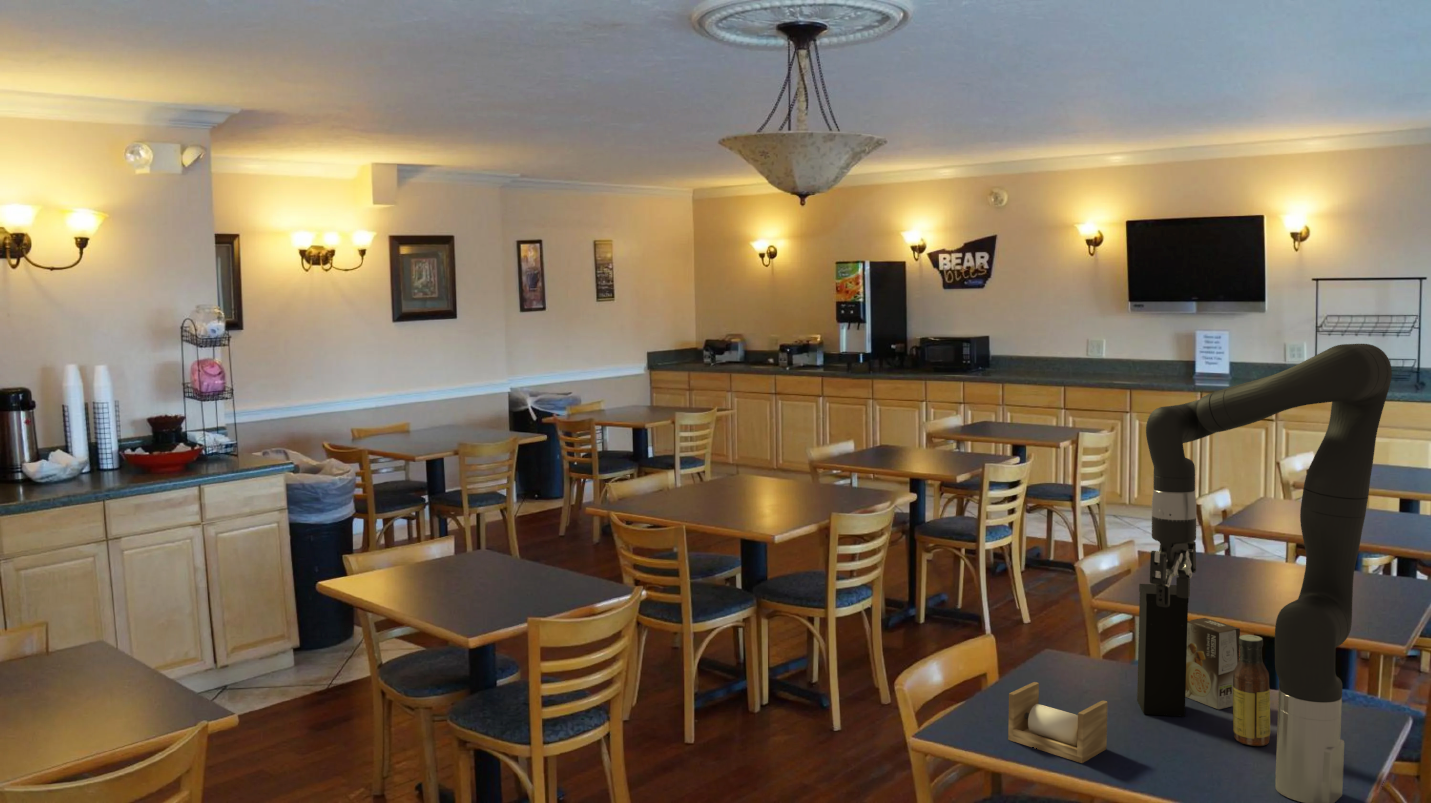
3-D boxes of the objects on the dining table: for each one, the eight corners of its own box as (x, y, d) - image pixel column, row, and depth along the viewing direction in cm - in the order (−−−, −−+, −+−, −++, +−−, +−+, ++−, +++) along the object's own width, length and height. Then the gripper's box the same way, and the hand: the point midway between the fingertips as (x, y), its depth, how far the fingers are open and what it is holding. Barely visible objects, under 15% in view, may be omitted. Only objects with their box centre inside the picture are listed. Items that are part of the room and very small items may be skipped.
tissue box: (1185, 717, 216) (1189, 578, 214) (1143, 714, 218) (1146, 577, 215) (1176, 703, 224) (1180, 569, 222) (1136, 700, 226) (1139, 567, 223)
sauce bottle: (1265, 736, 207) (1269, 633, 205) (1273, 749, 201) (1276, 643, 199) (1228, 733, 208) (1231, 631, 207) (1234, 745, 202) (1237, 641, 201)
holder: (1106, 748, 201) (1107, 701, 201) (1082, 763, 195) (1083, 714, 194) (1033, 726, 212) (1034, 681, 211) (1008, 739, 206) (1008, 693, 205)
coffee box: (1240, 705, 223) (1242, 628, 221) (1217, 710, 220) (1220, 632, 219) (1202, 690, 231) (1205, 616, 230) (1181, 695, 228) (1183, 620, 227)
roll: (1089, 742, 202) (1090, 713, 201) (1075, 750, 198) (1075, 721, 198) (1039, 727, 209) (1040, 699, 209) (1024, 735, 205) (1025, 706, 205)
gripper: (1177, 522, 191) (1177, 613, 193) (1210, 511, 201) (1209, 597, 202) (1136, 517, 197) (1135, 606, 198) (1170, 507, 207) (1169, 591, 208)
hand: (1173, 601), depth 200 cm, fingers open, 8 cm apart
